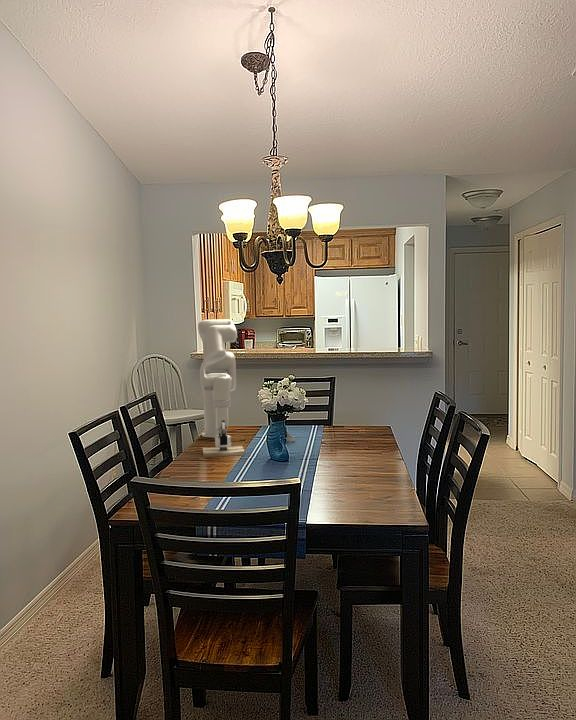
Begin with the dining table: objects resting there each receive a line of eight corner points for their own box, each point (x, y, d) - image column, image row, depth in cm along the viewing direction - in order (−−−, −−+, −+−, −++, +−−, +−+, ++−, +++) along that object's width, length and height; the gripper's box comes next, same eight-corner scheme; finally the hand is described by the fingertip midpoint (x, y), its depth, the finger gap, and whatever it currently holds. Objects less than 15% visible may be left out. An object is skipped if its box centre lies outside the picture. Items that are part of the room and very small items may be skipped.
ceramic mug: (274, 444, 309) (274, 428, 309) (271, 440, 317) (271, 425, 317) (296, 443, 312) (296, 427, 311) (292, 439, 320) (292, 424, 319)
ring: (215, 444, 296) (214, 435, 295) (230, 443, 297) (230, 434, 297) (215, 447, 289) (215, 438, 289) (231, 446, 290) (231, 437, 290)
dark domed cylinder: (219, 449, 295) (219, 439, 294) (226, 448, 295) (226, 438, 295) (219, 450, 291) (219, 440, 291) (227, 450, 292) (227, 440, 291)
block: (202, 451, 298) (202, 448, 298) (242, 449, 301) (242, 445, 300) (203, 457, 286) (203, 453, 286) (244, 454, 289) (244, 451, 289)
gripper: (212, 401, 299) (213, 439, 301) (214, 407, 282) (215, 447, 284) (229, 400, 300) (230, 438, 302) (231, 406, 283) (233, 446, 285)
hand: (223, 442), depth 293 cm, fingers closed on ring, 7 cm apart
